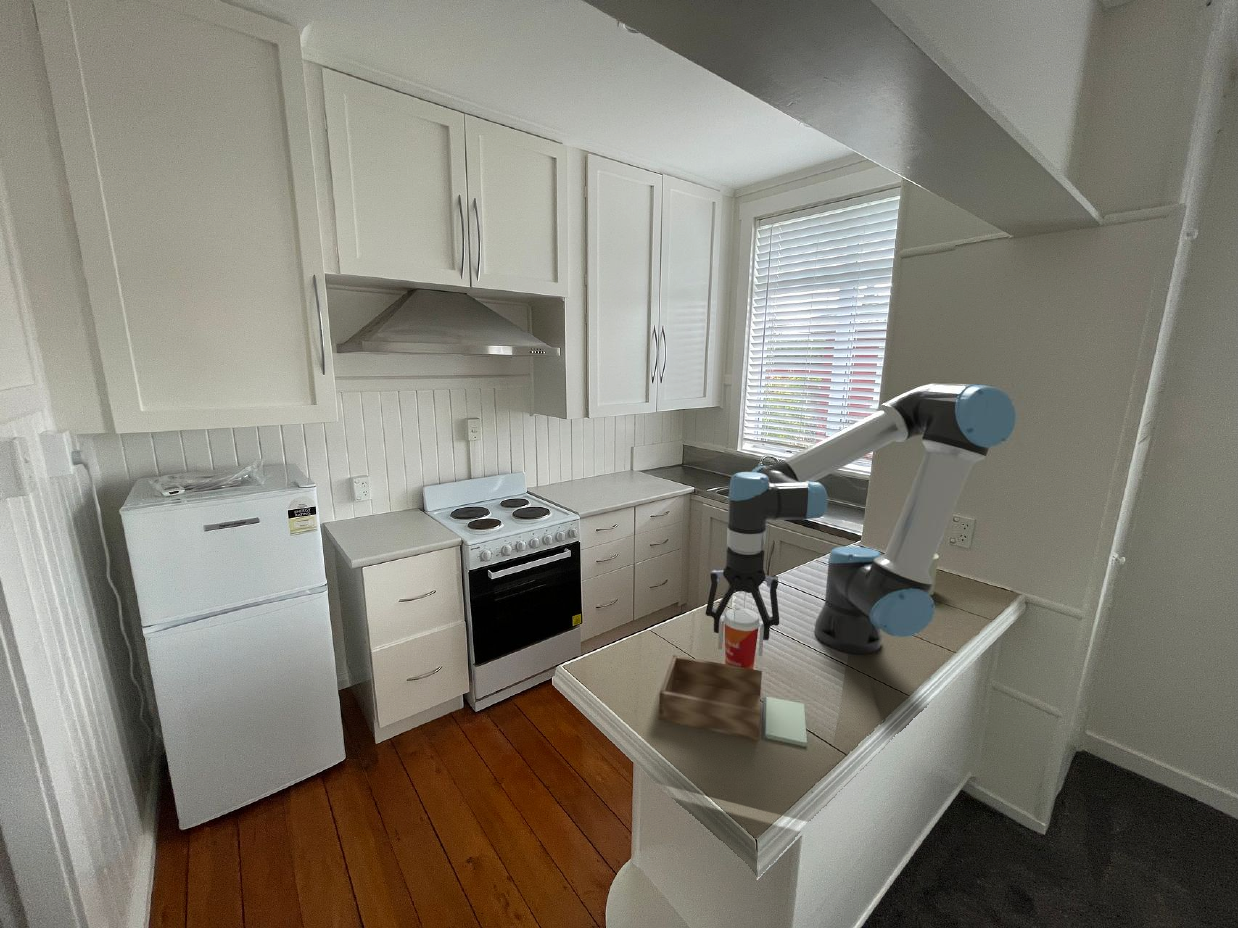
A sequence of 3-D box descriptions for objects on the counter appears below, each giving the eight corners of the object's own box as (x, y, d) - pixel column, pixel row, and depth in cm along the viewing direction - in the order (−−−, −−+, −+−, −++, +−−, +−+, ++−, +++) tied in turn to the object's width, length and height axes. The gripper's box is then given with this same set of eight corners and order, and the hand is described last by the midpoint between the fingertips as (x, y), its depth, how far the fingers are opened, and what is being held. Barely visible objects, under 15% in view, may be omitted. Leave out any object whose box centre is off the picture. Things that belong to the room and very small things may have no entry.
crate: (759, 699, 102) (762, 670, 101) (757, 745, 90) (760, 712, 89) (672, 682, 107) (673, 654, 106) (658, 723, 95) (659, 692, 94)
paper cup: (716, 665, 113) (719, 607, 110) (750, 663, 113) (753, 606, 111) (726, 687, 105) (729, 625, 102) (762, 685, 106) (766, 624, 103)
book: (762, 702, 101) (803, 710, 99) (761, 741, 91) (806, 751, 88) (763, 695, 101) (803, 703, 99) (762, 733, 90) (807, 743, 88)
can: (924, 598, 148) (929, 559, 145) (893, 586, 155) (897, 550, 153) (939, 591, 153) (945, 553, 150) (908, 580, 160) (913, 544, 158)
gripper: (797, 546, 104) (790, 647, 109) (698, 537, 110) (694, 632, 114) (799, 560, 97) (791, 667, 101) (692, 549, 103) (689, 650, 107)
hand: (740, 649), depth 108 cm, fingers closed on paper cup, 8 cm apart
